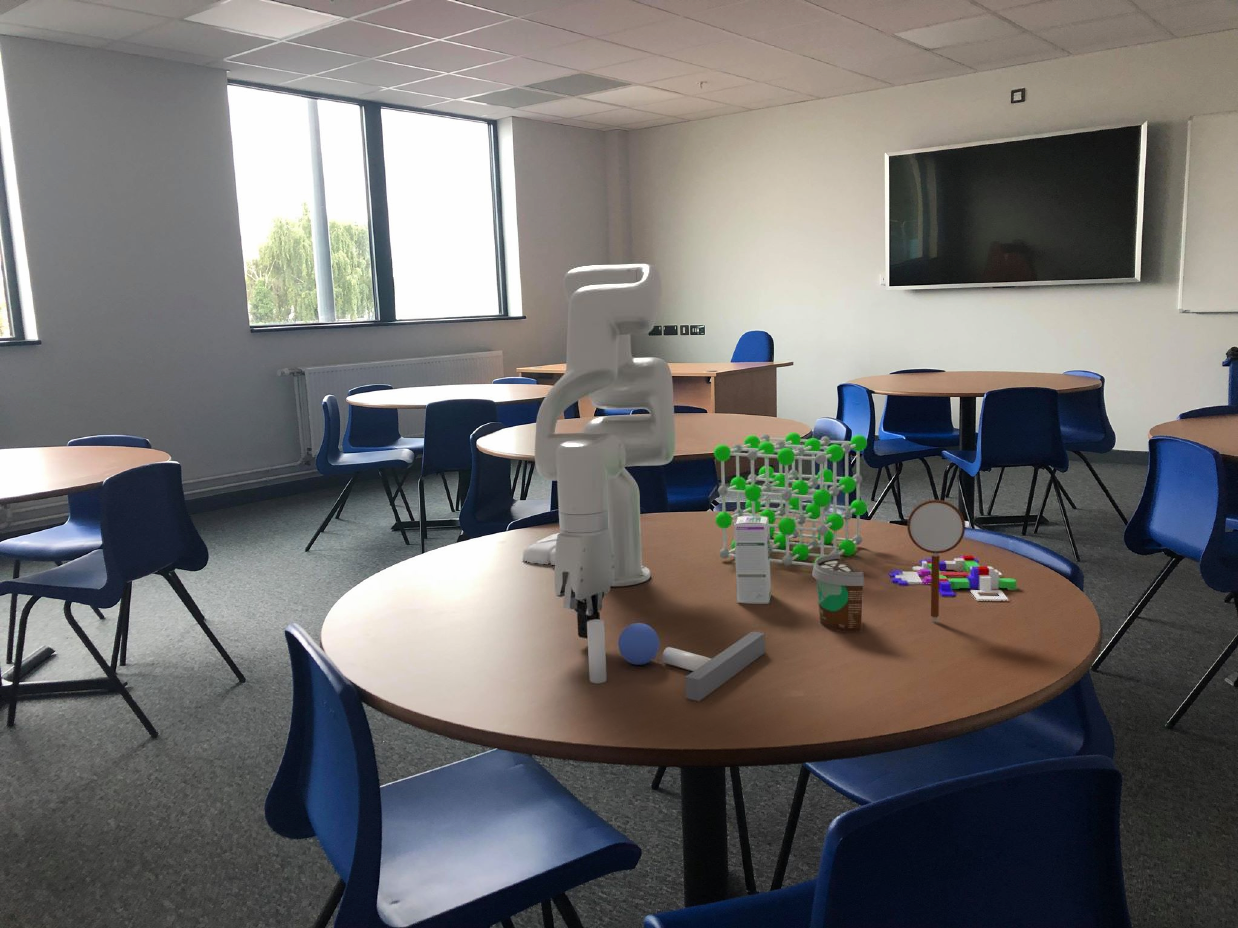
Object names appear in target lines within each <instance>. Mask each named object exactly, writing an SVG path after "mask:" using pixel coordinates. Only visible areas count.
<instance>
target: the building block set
mask: <svg viewBox="0 0 1238 928" xmlns="http://www.w3.org/2000/svg"><path fill="white" fill-rule="evenodd" d="M931 562H932V558H924V559H920V560H919V564H920V563H921V564H920V566H918V565H917V566H912V570H914V571H918V572H914V571H903V570H901V569H899V570H897V569H895V570H892V572H888V576H889V578H890V579H891V582H892V583H893V584H897V585H898V584H899V585H898V586H900V585H908V586H909V585H929V584H928V583H931V576H928V575H931ZM979 563H980V561H979V559H978V558H977V557H976V558H975V557H974V555H961V556H960V557H957V558H956V557H955V558H953V560H944V561H943V560H942V561H941V560H939V592H940V593H939V595H940V594H941V595H942V596H955V597H956V593H955V592H954V590H952V589H968V588H969V589H978V588H979V590H970V592H971V593H972V594H973V595H974V597H975V598H976V599H975V598H974V597H973V598H974V599H975V601H976V600H977V601H983V600H984V601H985V600H986V601H988V600H989V601H991V600H992V601H1001V600H1003V601H1005V600H1007V601H1009V598H1008V597H1007V596H1006V595H1005V593H1004V592H1003V590H1001V589H1006V588H1009V589H1016V590H1017V580H1016V579H1015V578H1004V577H999V575H1002V576H1003V574H1002V573H1001V572H1000V571H999V570H998V569H994V567H993V566H981V565H980V564H979ZM921 565H922V566H921ZM947 570H953V571H947ZM940 571H946V572H940ZM955 571H964V572H955ZM919 576H925V577H924V578H921V577H919ZM946 576H967V577H951V578H948V577H946ZM891 577H894V578H891ZM919 583H920V584H919ZM923 583H924V584H923ZM926 583H927V584H926ZM992 588H993V589H995V588H998V590H991V589H992ZM969 589H968V590H969ZM971 593H970V594H971ZM978 593H997V594H998V595H999V596H998V595H997V594H996V595H981V594H978ZM972 594H971V595H972ZM941 595H940V596H941ZM973 595H972V596H973ZM942 596H941V597H942ZM977 601H976V602H977Z"/></svg>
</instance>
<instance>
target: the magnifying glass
mask: <svg viewBox="0 0 1238 928" xmlns="http://www.w3.org/2000/svg"><path fill="white" fill-rule="evenodd" d="M906 525H907V533H908V536H909V538H910V540H911V541H912V543H913V544H914V545H915V546H916V547H918V548H919V549H920V550H922V551H923V552H926V553H930V554H932V555H931V559H932V562H931V584H930V616H931V621H933V623H936V622H937V621H938V617H940V615H939V610H940V609H939V608H940V593H939V561H940V555H939V554H944V553H947V552H950V551H951V550H953V549H955V548H956V547H957V546H958V545H960V543H961V542H962V540H963V538H964V536H965V532H966V522H965V519H964V516H963V514H962V513H961V511H960V510H959V509H958V508H957V507H956V505H954V504H952V503H951V502H949V501H946V500H943V499H930V500H926V501H923V502H921V503H919V504H918V505H917V506H915V508H913V509H912V511H911V513H910V514H909V516H908V519H907V524H906Z"/></svg>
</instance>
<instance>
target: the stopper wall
mask: <svg viewBox="0 0 1238 928" xmlns="http://www.w3.org/2000/svg"><path fill="white" fill-rule="evenodd" d="M765 639H766V638H765V633H763V632H759V631H751V632H749V633H748V634H746V635H744V636H743V637H742V638H740V639H739V640H737V641H736V642H734V643H733V644H732V645H730V646H728V647H727V648H726V649H724V650H723V651H722V652H720V653H717V655H715V656H714V657H712V658H711V660H710V661H708V662H707V663H705V664H704V665H702V666H701V667H699V668H698V669H696V670H695V671H692V672H690V673H689V674H687V675H686V676H685V697H686V698H685V699H688V700H693V701H696V702H701V701H702V700H703V699H705V698H706V697H707V696H708V695H710V694H711V693H712V692H714V691H715V690H717V689H718V688H719V687H720V686H722V685H723V684H725V683H727V682H728V680H729V681H730V679H731V678H733V677H735V675H737V674H738V673H740V672H741V671H742V670H744V669H745V668H747V667H748V666H749V665H750V664H751V663H753V662H754V661H755V660H757V659H759V657H761V656H762V655H764V654H765V652H766V648H765V644H766V643H765Z"/></svg>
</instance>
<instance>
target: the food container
mask: <svg viewBox="0 0 1238 928" xmlns="http://www.w3.org/2000/svg"><path fill="white" fill-rule="evenodd" d="M826 555H827V556H823V557H820V558H818V557H817V558H818V559H817V560H816V559H815V560H816V563H815V564H814V563H813V564H814V567H813V566H812V567H813V569H812V572H811V575H812V577H813V578H814V579H816V587H817V588H816V589H817V598H818V599H817V600H818V601H817V602H818V610H819V611H818V613H819V614H818V615H819V623H820V625H821V626H823V628H826V629H829V630H832V631H836V632H843V633H861V632H862V613H863V612H862V611H863V592H864V591H863V589H864V588H863V587H864V586H865V578H864V572H863V571H855V570H854V568H853V567H852V566H851V565H850V564H848V563H845V562H843V561H842V560H841V554H832V555H829V554H826Z"/></svg>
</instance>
